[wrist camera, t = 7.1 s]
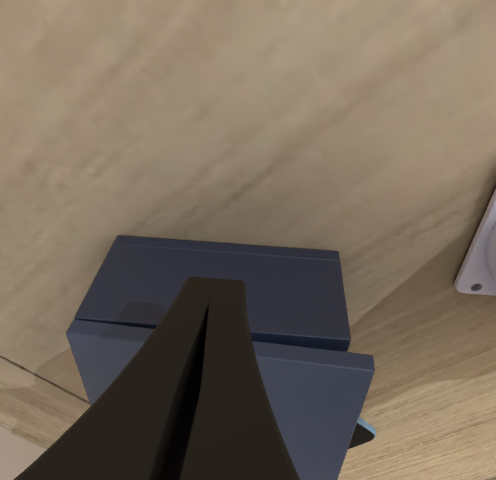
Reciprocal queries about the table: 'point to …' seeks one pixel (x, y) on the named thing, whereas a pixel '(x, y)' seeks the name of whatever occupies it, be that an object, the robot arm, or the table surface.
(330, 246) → the table surface
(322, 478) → the lid
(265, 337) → the box
